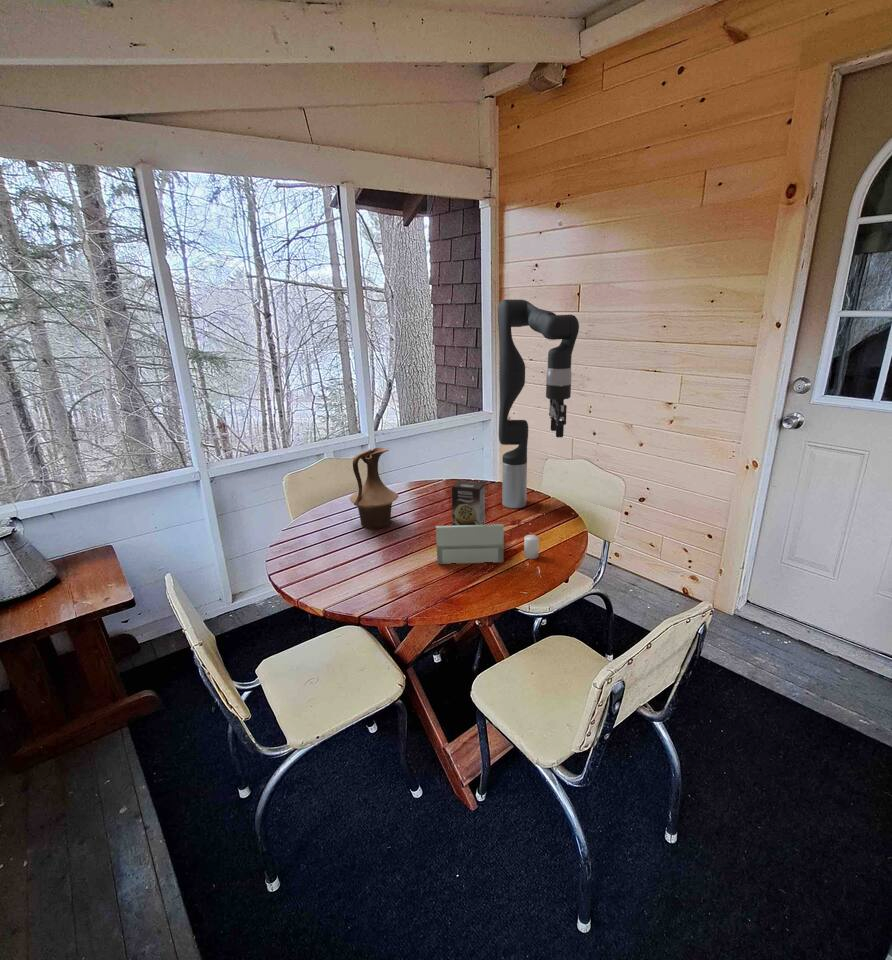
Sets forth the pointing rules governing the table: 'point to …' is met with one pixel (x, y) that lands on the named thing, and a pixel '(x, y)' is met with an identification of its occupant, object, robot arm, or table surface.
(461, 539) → the mint green corner panel
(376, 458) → the pitcher
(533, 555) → the white rounded capsule
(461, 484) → the coffee box
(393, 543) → the table surface
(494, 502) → the table surface
